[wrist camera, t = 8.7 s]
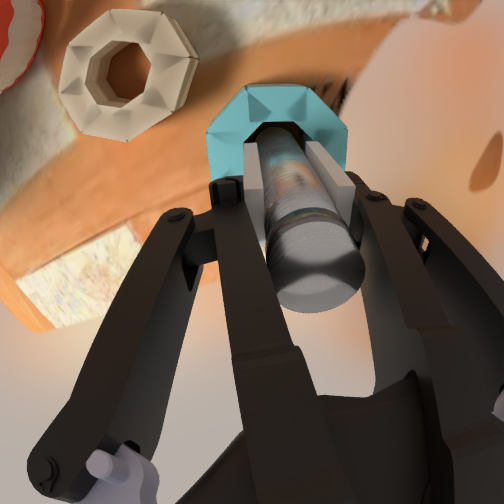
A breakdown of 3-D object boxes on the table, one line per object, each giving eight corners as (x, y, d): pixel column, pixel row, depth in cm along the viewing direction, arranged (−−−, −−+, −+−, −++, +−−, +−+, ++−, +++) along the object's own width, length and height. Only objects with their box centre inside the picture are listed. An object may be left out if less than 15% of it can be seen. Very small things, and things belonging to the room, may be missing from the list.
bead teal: (220, 197, 23) (216, 219, 20) (208, 87, 18) (201, 91, 15) (328, 192, 23) (340, 212, 20) (333, 84, 18) (349, 89, 15)
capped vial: (255, 166, 20) (269, 317, 9) (252, 127, 19) (267, 242, 7) (296, 165, 20) (356, 309, 9) (296, 125, 19) (376, 236, 7)
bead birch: (118, 147, 20) (100, 162, 17) (67, 65, 15) (43, 69, 12) (216, 88, 18) (211, 92, 15) (160, -5, 13) (145, -16, 10)
